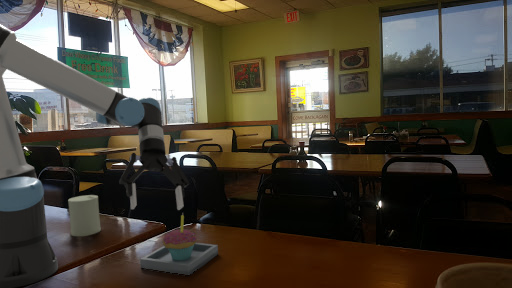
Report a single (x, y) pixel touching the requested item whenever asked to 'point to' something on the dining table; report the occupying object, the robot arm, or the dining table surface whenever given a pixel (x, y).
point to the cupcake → (180, 242)
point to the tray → (164, 260)
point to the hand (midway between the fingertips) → (158, 207)
